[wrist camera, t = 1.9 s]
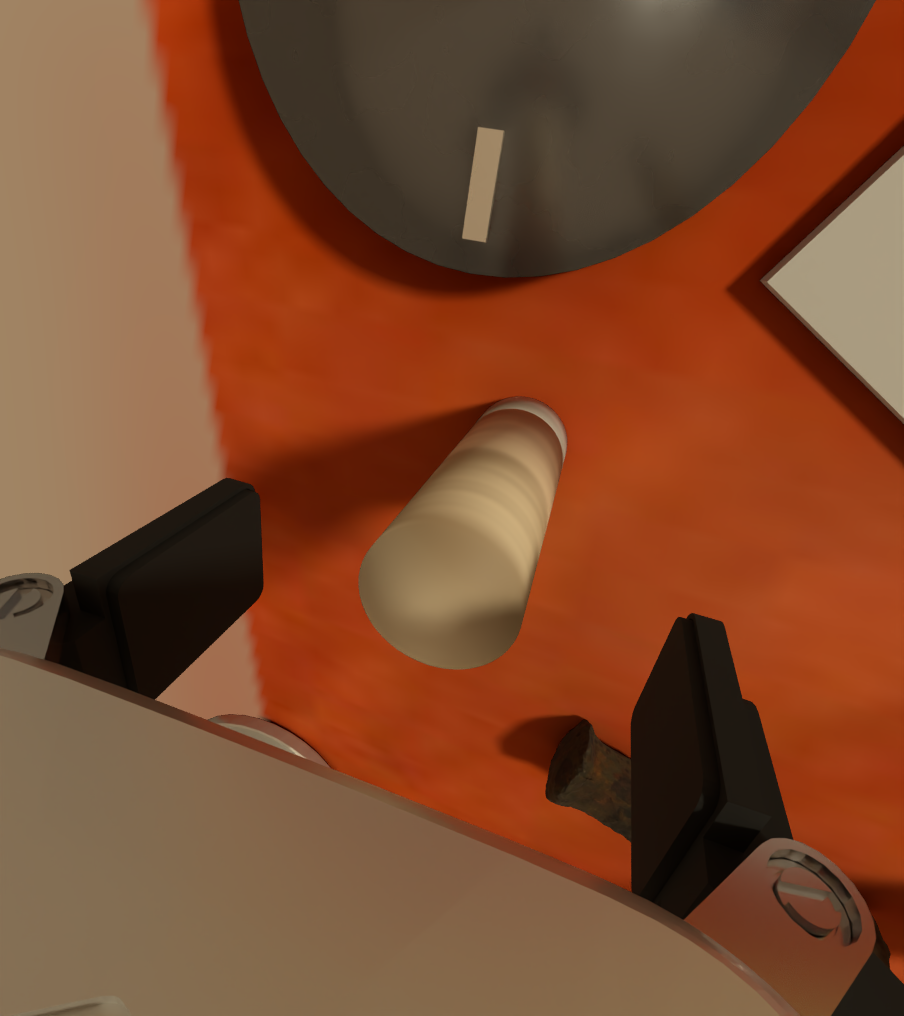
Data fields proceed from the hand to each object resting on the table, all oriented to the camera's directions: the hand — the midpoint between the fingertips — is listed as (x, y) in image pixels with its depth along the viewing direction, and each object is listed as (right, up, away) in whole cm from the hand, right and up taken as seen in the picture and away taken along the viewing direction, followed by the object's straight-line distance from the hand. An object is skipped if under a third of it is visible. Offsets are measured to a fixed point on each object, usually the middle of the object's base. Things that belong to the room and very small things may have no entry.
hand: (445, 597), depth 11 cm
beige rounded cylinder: (+3, +5, +11) cm, 13 cm away
